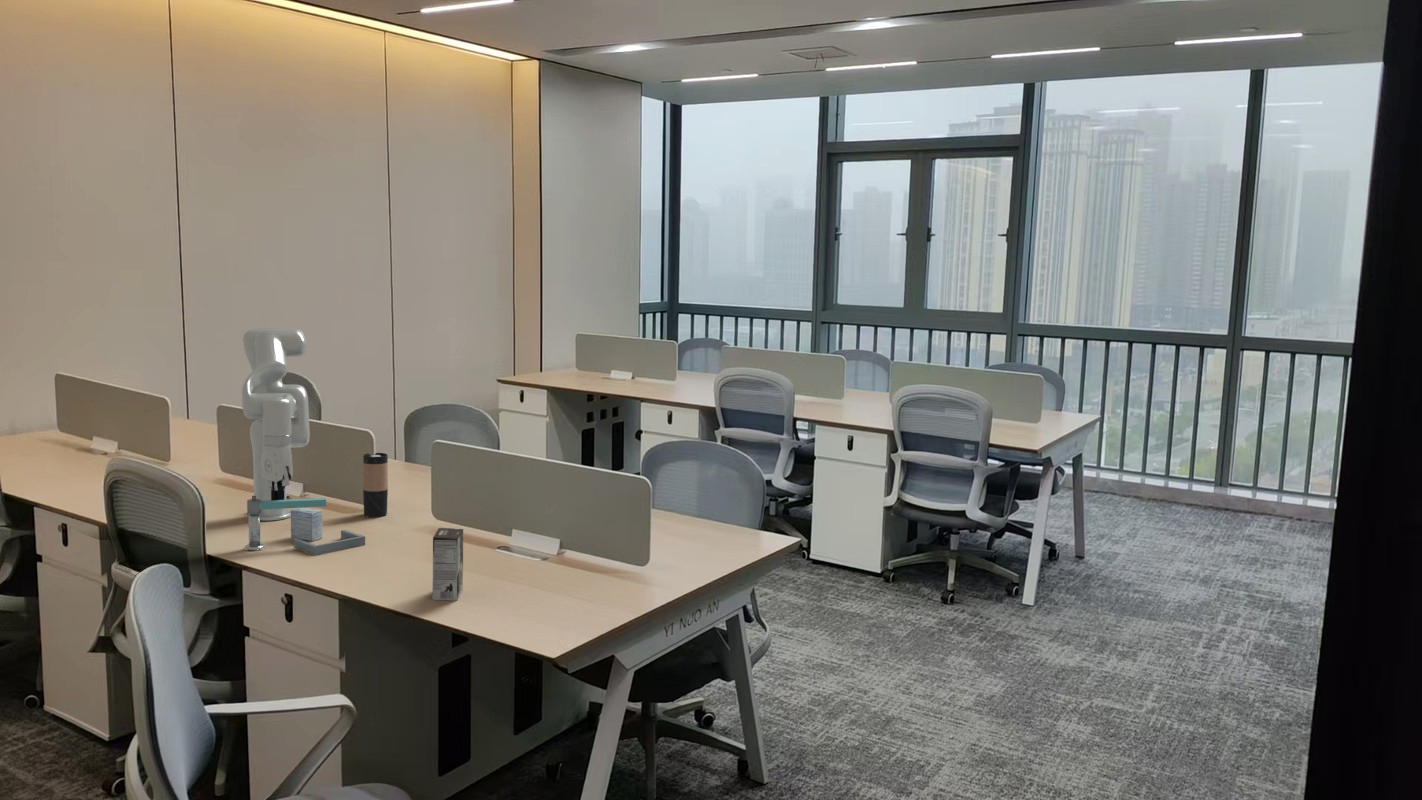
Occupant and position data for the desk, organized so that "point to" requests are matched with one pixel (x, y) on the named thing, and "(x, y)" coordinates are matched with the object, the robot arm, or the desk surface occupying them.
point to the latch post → (254, 533)
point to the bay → (331, 544)
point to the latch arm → (282, 504)
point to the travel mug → (375, 484)
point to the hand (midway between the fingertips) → (277, 503)
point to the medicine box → (306, 524)
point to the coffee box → (447, 564)
